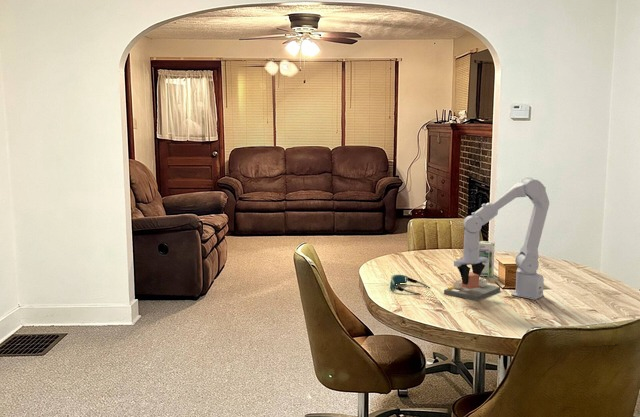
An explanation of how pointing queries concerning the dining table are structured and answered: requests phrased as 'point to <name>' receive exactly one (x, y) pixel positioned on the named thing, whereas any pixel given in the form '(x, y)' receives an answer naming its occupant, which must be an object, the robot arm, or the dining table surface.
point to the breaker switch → (482, 282)
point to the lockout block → (472, 281)
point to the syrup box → (487, 251)
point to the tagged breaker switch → (457, 284)
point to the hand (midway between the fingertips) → (470, 283)
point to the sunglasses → (401, 279)
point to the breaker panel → (473, 292)
